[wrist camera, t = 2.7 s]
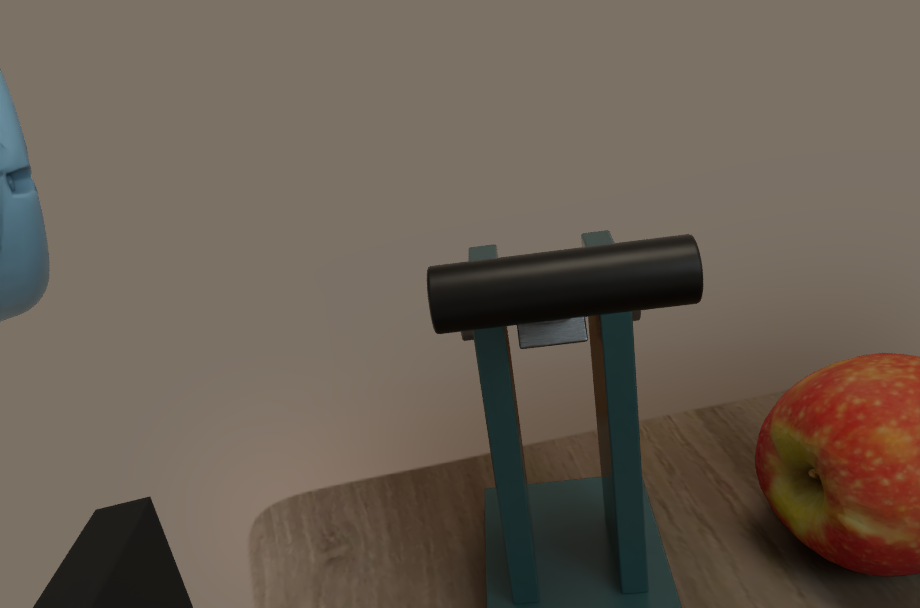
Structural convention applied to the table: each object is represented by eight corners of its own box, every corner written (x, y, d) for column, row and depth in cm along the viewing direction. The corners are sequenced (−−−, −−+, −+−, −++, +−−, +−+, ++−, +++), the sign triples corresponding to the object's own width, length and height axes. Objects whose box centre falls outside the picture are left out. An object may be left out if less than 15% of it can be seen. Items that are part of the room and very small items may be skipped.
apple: (728, 518, 35) (726, 352, 32) (888, 458, 37) (902, 296, 34) (870, 653, 28) (886, 458, 25) (1058, 571, 30) (1096, 381, 27)
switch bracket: (696, 676, 29) (684, 313, 23) (491, 694, 29) (430, 343, 23) (642, 493, 38) (624, 201, 32) (487, 509, 38) (443, 224, 32)
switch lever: (711, 325, 16) (694, 205, 17) (434, 357, 17) (421, 240, 17) (629, 336, 30) (620, 269, 30) (474, 354, 30) (466, 287, 30)
